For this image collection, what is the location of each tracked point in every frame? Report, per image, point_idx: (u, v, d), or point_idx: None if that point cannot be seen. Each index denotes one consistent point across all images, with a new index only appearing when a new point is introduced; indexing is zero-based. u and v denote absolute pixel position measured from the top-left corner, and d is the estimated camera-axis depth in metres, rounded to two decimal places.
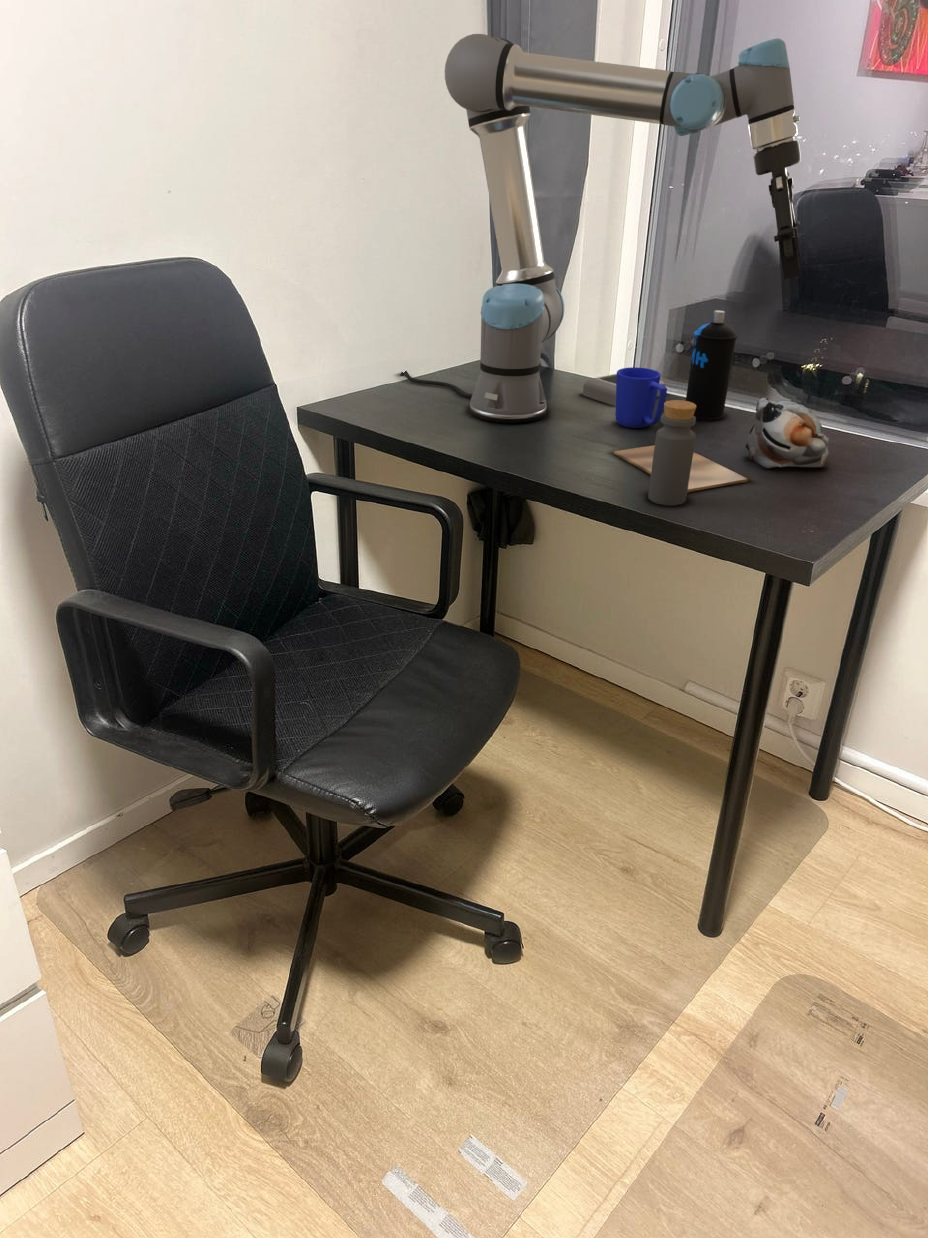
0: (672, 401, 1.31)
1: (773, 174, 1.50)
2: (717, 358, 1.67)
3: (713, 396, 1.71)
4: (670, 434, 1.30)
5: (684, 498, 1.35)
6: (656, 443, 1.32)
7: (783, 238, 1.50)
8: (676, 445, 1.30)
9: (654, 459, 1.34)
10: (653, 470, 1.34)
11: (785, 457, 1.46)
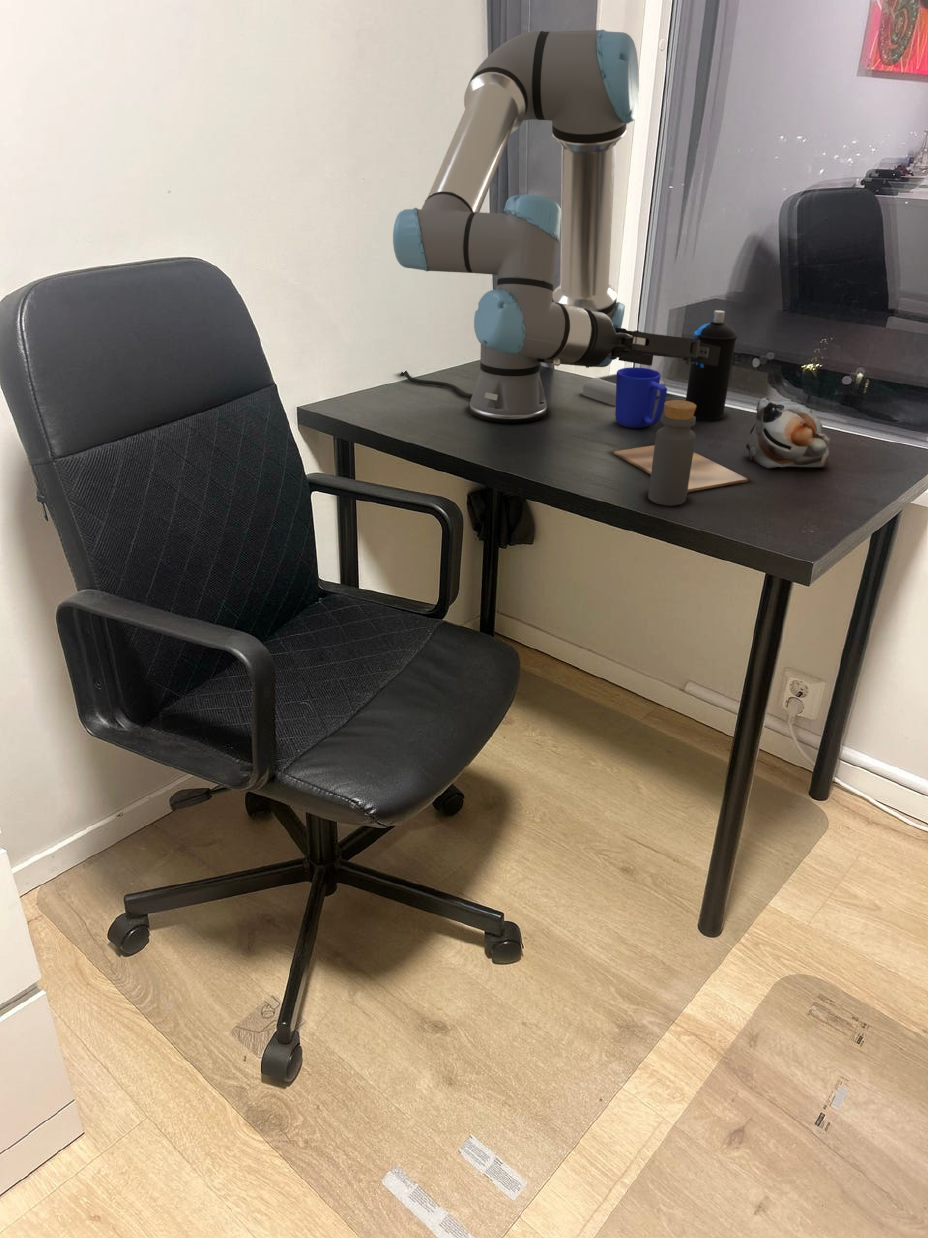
0: (672, 401, 1.31)
1: None
2: None
3: (713, 396, 1.71)
4: (670, 434, 1.30)
5: (684, 498, 1.35)
6: (656, 443, 1.32)
7: None
8: (676, 445, 1.30)
9: (654, 459, 1.34)
10: (653, 470, 1.34)
11: (786, 457, 1.46)
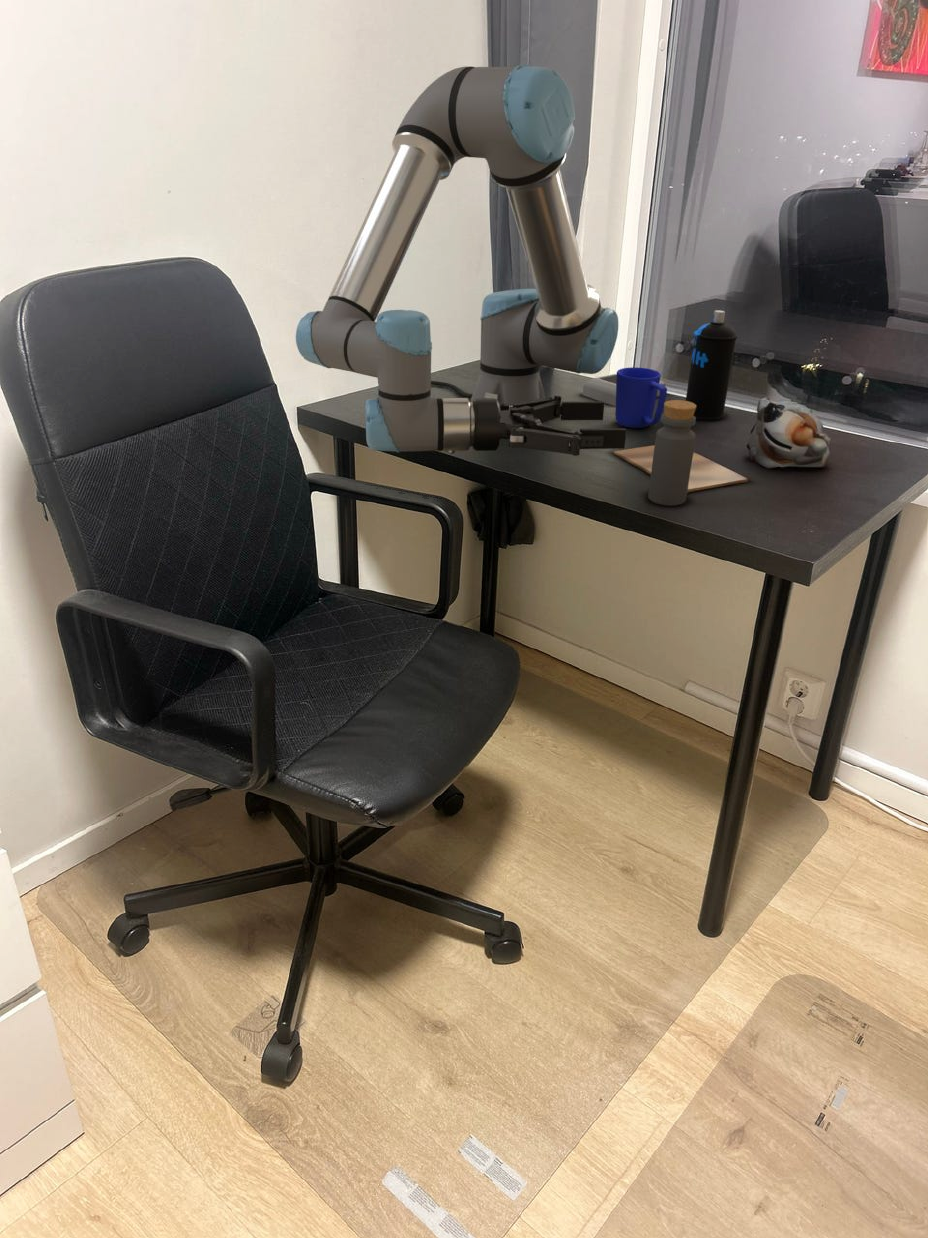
0: (672, 401, 1.31)
1: None
2: (717, 358, 1.67)
3: (713, 396, 1.71)
4: (670, 434, 1.30)
5: (684, 498, 1.35)
6: (656, 443, 1.32)
7: None
8: (676, 445, 1.30)
9: (654, 459, 1.34)
10: (653, 470, 1.34)
11: (786, 457, 1.46)
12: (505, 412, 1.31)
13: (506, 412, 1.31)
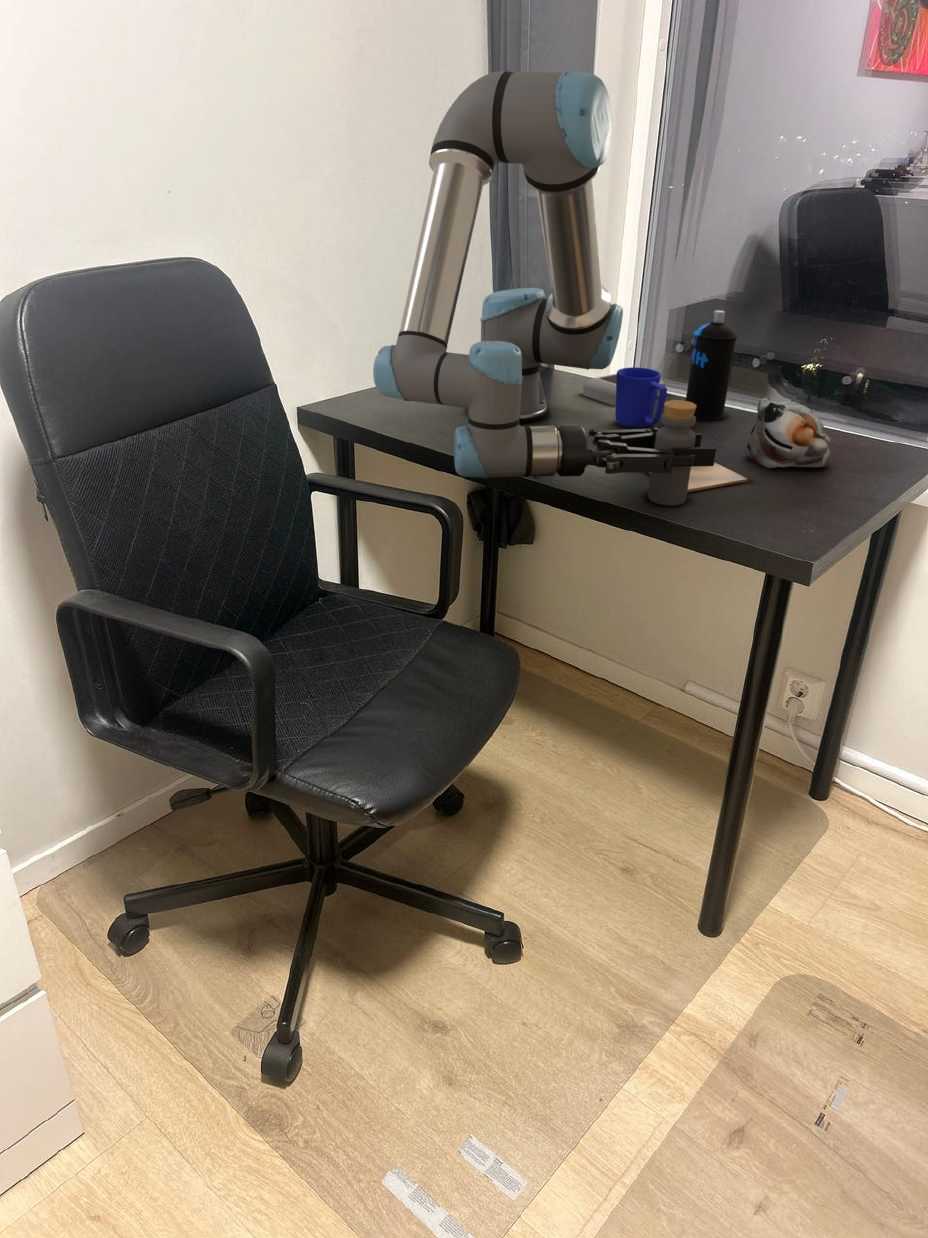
0: (672, 401, 1.31)
1: None
2: (717, 358, 1.67)
3: (713, 396, 1.71)
4: (670, 434, 1.30)
5: (684, 498, 1.35)
6: (656, 443, 1.32)
7: None
8: (676, 445, 1.30)
9: None
10: None
11: (787, 457, 1.46)
12: (589, 438, 1.34)
13: (588, 438, 1.34)
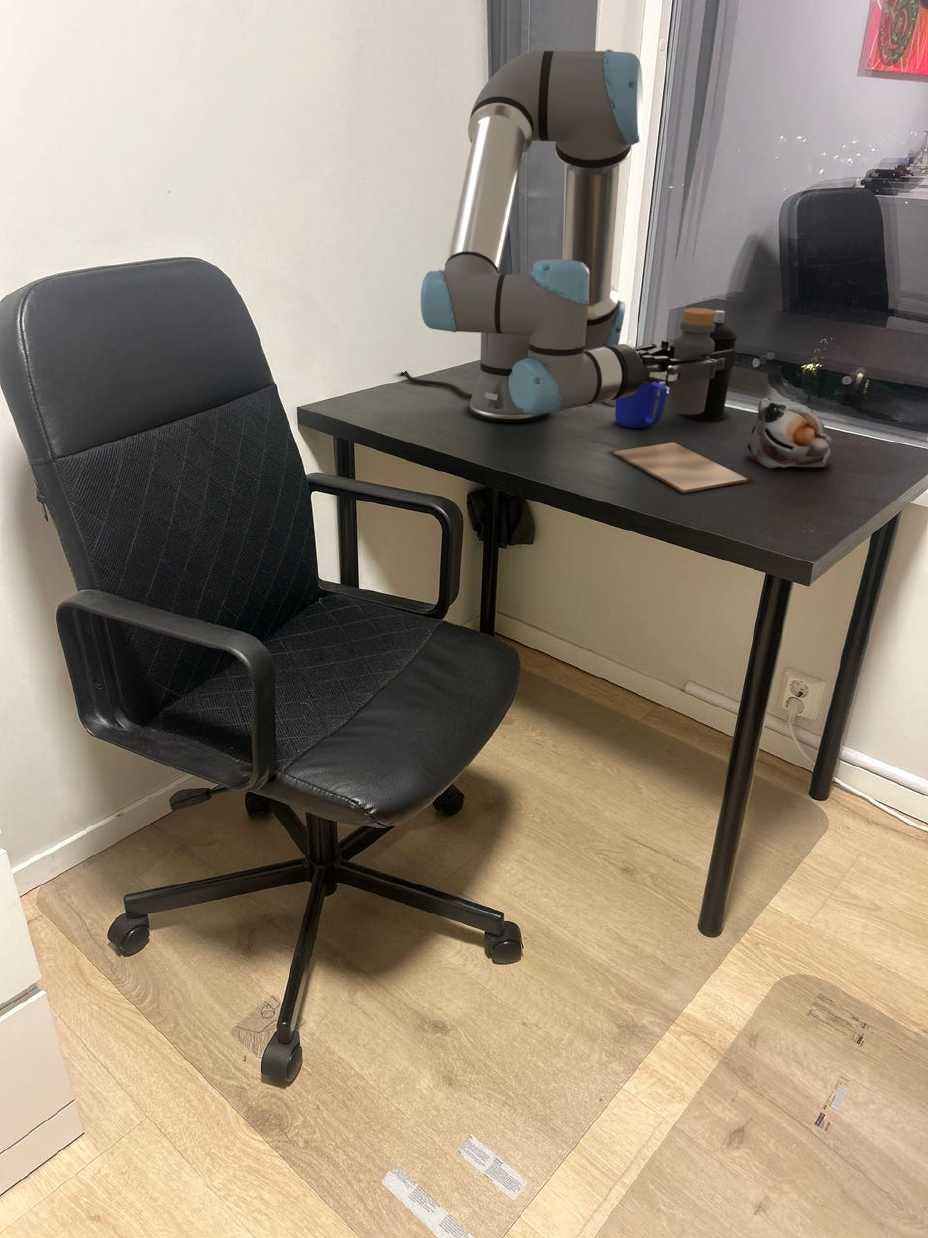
0: (689, 309, 1.32)
1: None
2: None
3: (713, 396, 1.71)
4: (698, 341, 1.31)
5: None
6: (681, 353, 1.33)
7: None
8: (705, 351, 1.32)
9: None
10: None
11: (788, 457, 1.46)
12: None
13: None
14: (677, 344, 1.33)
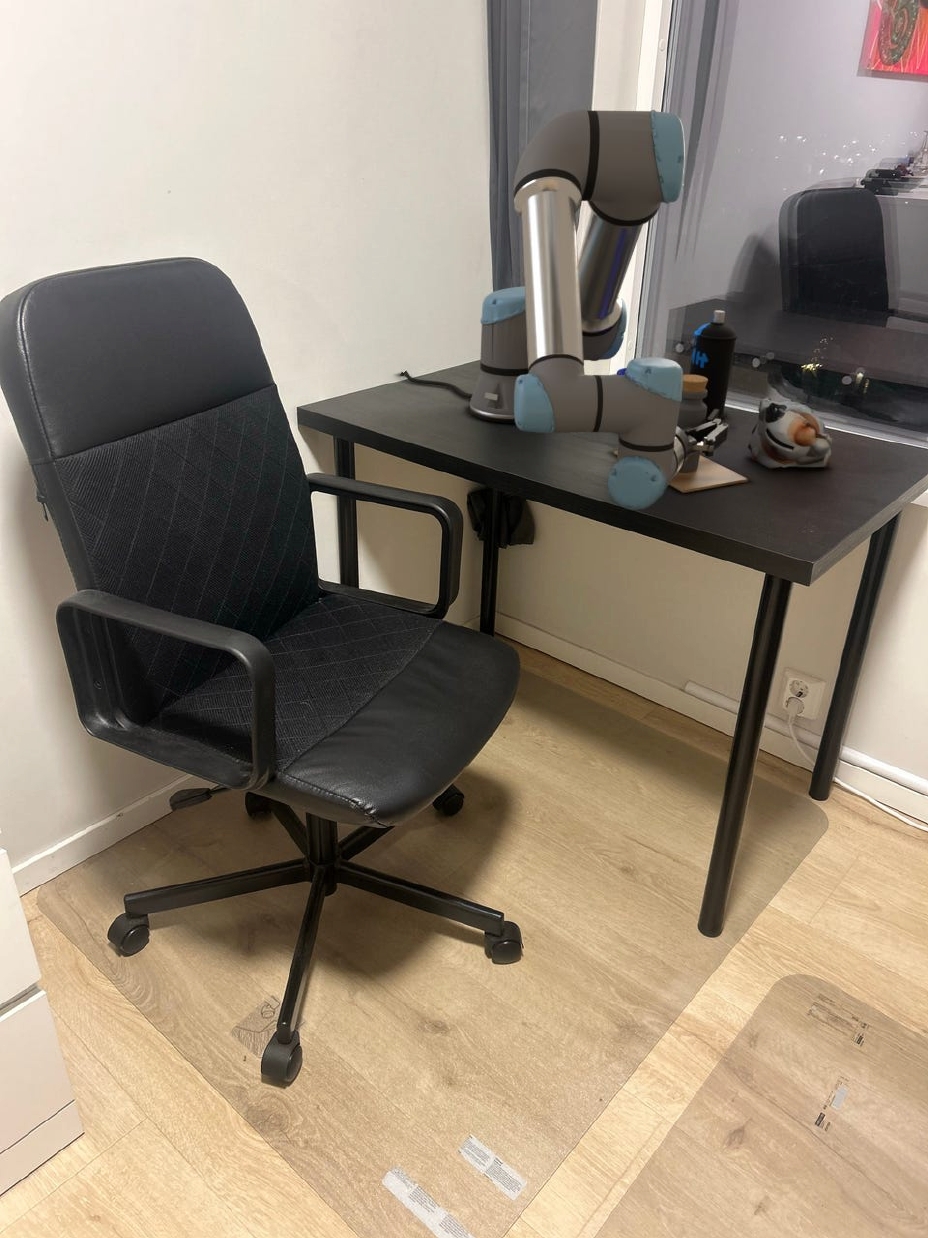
0: (683, 377, 1.41)
1: None
2: (717, 358, 1.67)
3: (713, 396, 1.71)
4: (698, 406, 1.41)
5: None
6: (684, 419, 1.42)
7: None
8: (704, 414, 1.42)
9: None
10: None
11: (788, 457, 1.46)
12: None
13: None
14: None
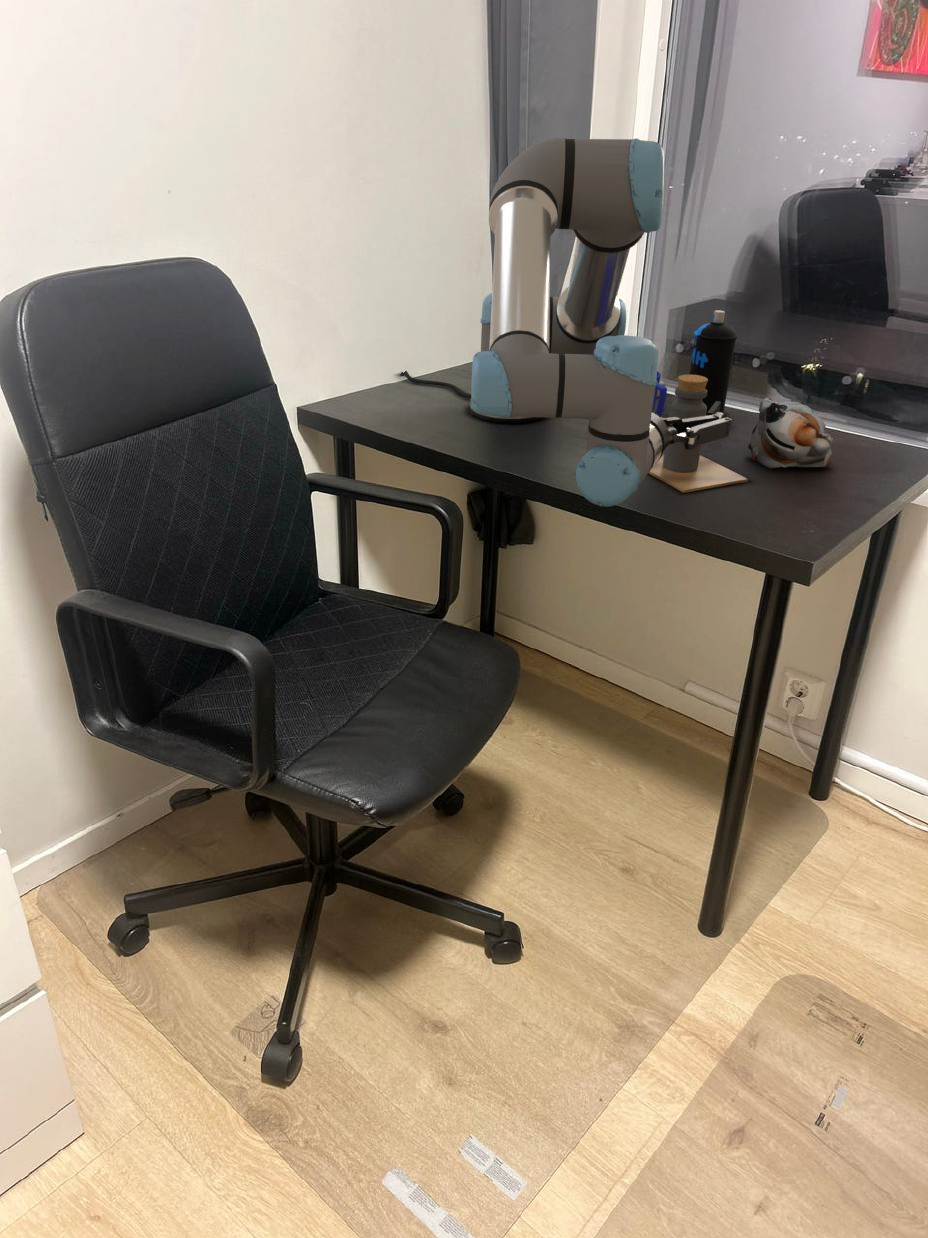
0: (682, 377, 1.41)
1: None
2: (717, 358, 1.67)
3: (713, 396, 1.71)
4: (698, 406, 1.41)
5: None
6: None
7: None
8: (704, 414, 1.42)
9: None
10: (682, 444, 1.44)
11: (789, 457, 1.46)
12: None
13: None
14: (678, 411, 1.42)
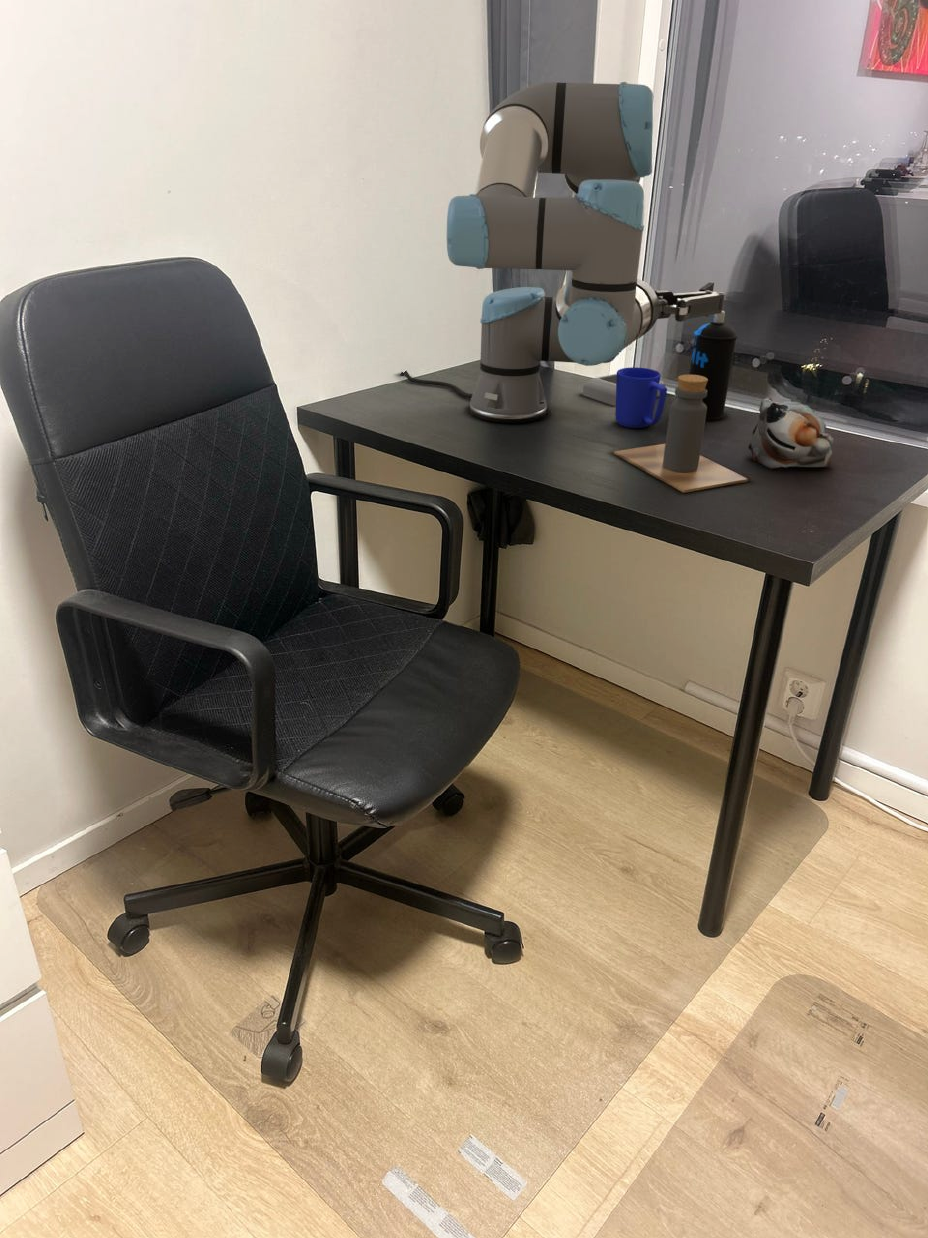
0: (682, 377, 1.41)
1: None
2: (717, 358, 1.67)
3: (713, 396, 1.71)
4: (698, 406, 1.41)
5: None
6: (684, 419, 1.42)
7: None
8: (704, 414, 1.42)
9: (682, 434, 1.43)
10: (682, 444, 1.44)
11: (789, 457, 1.46)
12: None
13: None
14: (678, 411, 1.42)
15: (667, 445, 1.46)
